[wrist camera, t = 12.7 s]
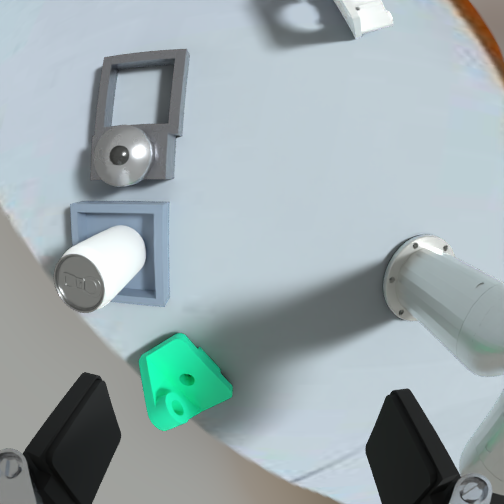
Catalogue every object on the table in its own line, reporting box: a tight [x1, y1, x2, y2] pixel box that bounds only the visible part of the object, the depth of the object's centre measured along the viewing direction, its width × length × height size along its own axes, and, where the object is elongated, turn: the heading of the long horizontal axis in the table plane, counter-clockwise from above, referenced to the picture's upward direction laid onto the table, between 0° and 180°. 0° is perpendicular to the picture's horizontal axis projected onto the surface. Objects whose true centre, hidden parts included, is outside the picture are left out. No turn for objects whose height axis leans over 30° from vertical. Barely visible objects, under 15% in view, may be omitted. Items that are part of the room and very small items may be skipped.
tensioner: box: [90, 49, 190, 187], centre depth 29 cm, size 10×16×6 cm, turn 177°
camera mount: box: [139, 333, 233, 431], centre depth 36 cm, size 12×8×10 cm, turn 34°
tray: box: [70, 201, 170, 307], centre depth 34 cm, size 12×12×3 cm
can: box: [54, 225, 146, 313], centre depth 29 cm, size 6×6×12 cm
